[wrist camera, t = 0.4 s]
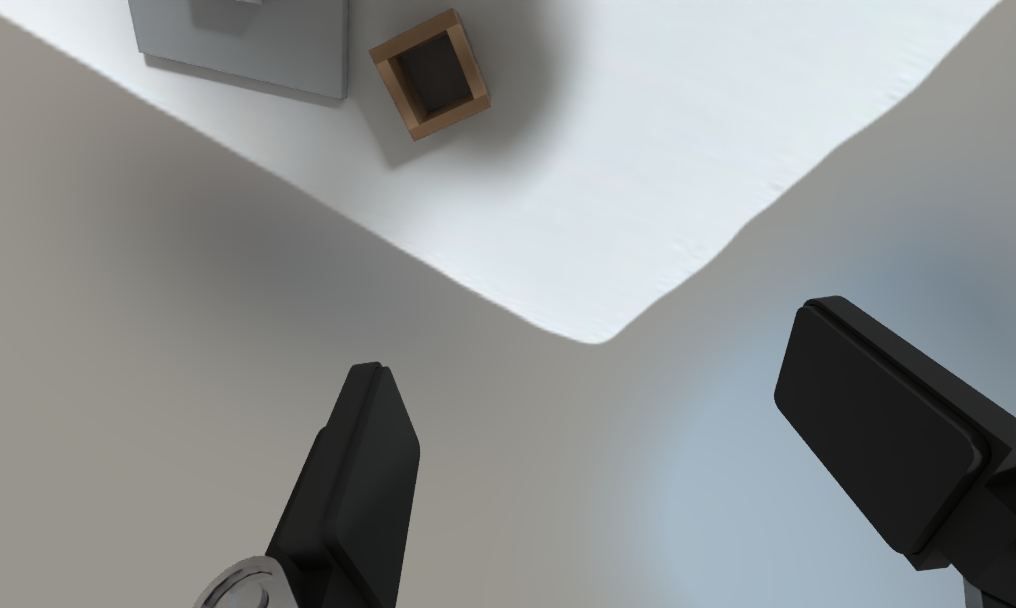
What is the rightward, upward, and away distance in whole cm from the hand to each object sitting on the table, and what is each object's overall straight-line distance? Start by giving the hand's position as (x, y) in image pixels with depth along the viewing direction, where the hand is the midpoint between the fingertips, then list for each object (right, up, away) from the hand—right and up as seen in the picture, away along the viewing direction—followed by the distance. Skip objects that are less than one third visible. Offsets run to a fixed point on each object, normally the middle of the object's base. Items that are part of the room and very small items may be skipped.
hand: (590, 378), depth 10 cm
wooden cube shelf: (-8, +21, +25) cm, 33 cm away
